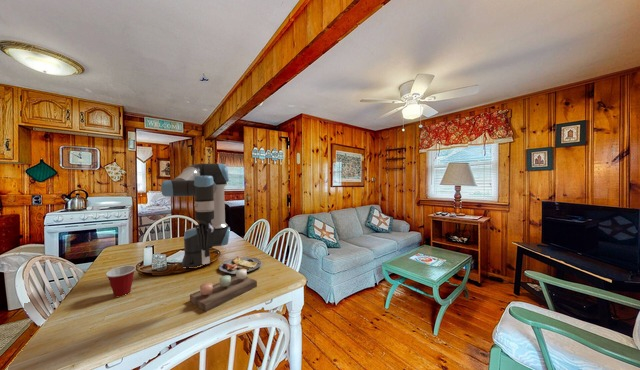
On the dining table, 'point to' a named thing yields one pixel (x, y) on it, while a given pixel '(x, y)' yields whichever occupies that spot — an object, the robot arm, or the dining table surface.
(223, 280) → the sage button
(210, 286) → the terracotta button
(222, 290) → the button board
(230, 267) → the food plate
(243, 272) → the cream button
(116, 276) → the plastic cup
